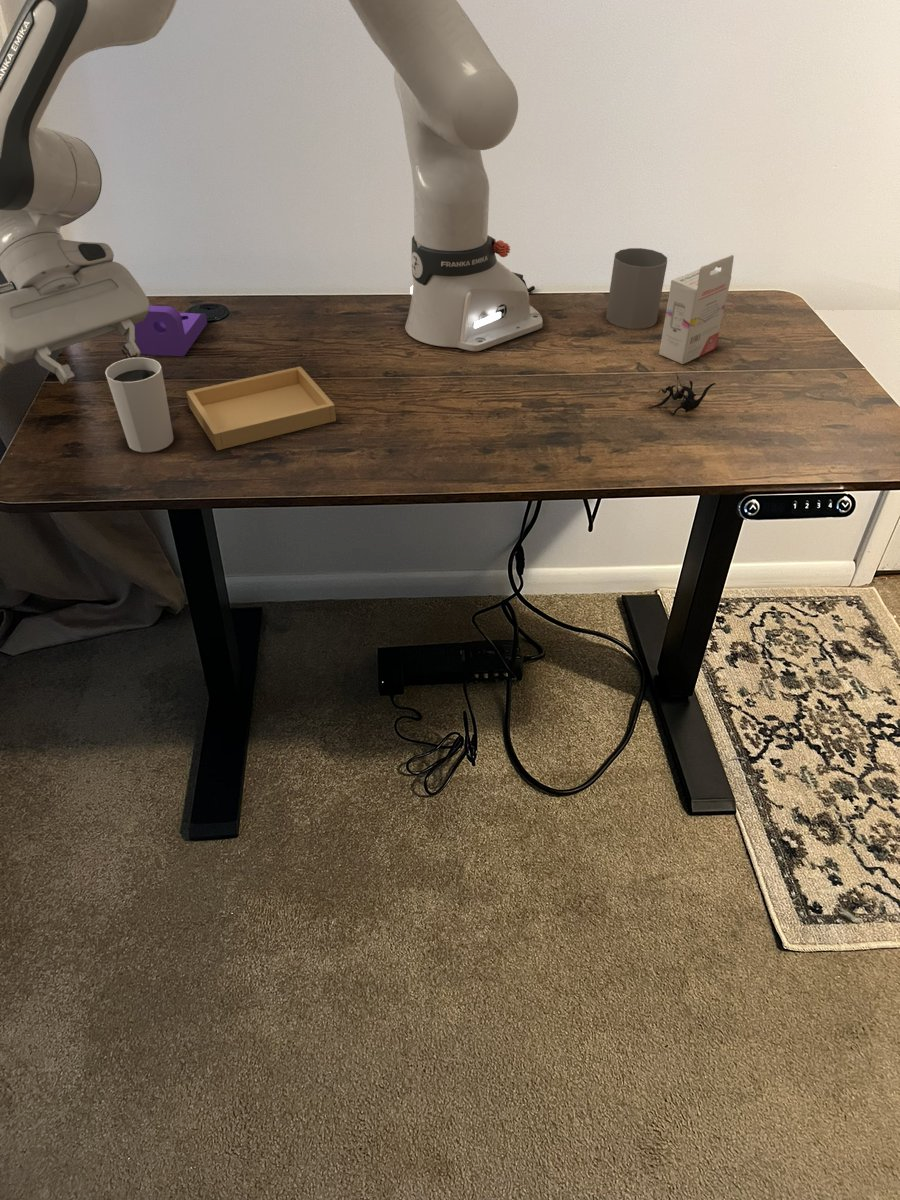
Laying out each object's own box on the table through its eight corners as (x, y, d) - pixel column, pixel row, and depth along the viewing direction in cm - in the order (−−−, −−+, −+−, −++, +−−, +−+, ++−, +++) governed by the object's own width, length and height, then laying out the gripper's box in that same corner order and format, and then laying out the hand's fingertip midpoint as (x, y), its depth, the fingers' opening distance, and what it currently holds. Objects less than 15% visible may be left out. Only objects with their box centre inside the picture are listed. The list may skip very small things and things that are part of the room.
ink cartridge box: (690, 339, 138) (709, 245, 128) (715, 349, 135) (738, 254, 125) (656, 354, 134) (674, 258, 124) (682, 365, 131) (702, 268, 121)
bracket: (183, 356, 131) (174, 312, 126) (139, 354, 131) (129, 310, 126) (207, 323, 139) (199, 281, 135) (165, 321, 140) (157, 279, 135)
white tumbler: (136, 425, 115) (118, 355, 109) (184, 429, 115) (169, 359, 108) (115, 451, 110) (95, 380, 104) (165, 456, 110) (148, 384, 103)
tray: (302, 381, 125) (300, 365, 124) (336, 420, 117) (334, 404, 115) (189, 407, 119) (185, 391, 117) (216, 450, 111) (213, 434, 109)
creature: (637, 410, 123) (673, 424, 116) (637, 372, 120) (675, 385, 114) (680, 398, 125) (719, 411, 119) (682, 361, 123) (721, 373, 116)
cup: (620, 303, 148) (629, 244, 141) (664, 316, 144) (676, 255, 138) (597, 320, 143) (605, 259, 136) (642, 333, 139) (652, 271, 132)
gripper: (-36, 282, 102) (29, 385, 104) (119, 240, 114) (175, 334, 115) (-39, 308, 107) (23, 406, 109) (109, 265, 119) (163, 355, 120)
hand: (102, 368), depth 112 cm, fingers open, 8 cm apart
